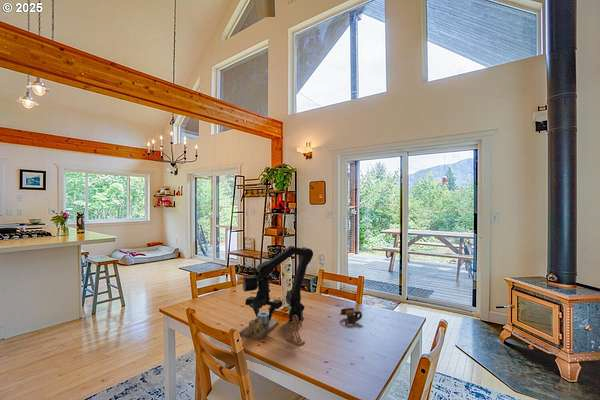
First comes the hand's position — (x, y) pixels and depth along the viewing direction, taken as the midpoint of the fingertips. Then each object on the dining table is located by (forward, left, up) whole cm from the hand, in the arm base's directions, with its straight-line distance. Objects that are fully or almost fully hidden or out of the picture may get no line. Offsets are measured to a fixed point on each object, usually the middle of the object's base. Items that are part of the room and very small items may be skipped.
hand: (263, 319), depth 147 cm
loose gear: (0, 0, -1) cm, 1 cm away
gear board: (0, +4, -4) cm, 5 cm away
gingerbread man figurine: (-21, +9, -4) cm, 23 cm away
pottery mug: (-41, -21, -4) cm, 46 cm away
